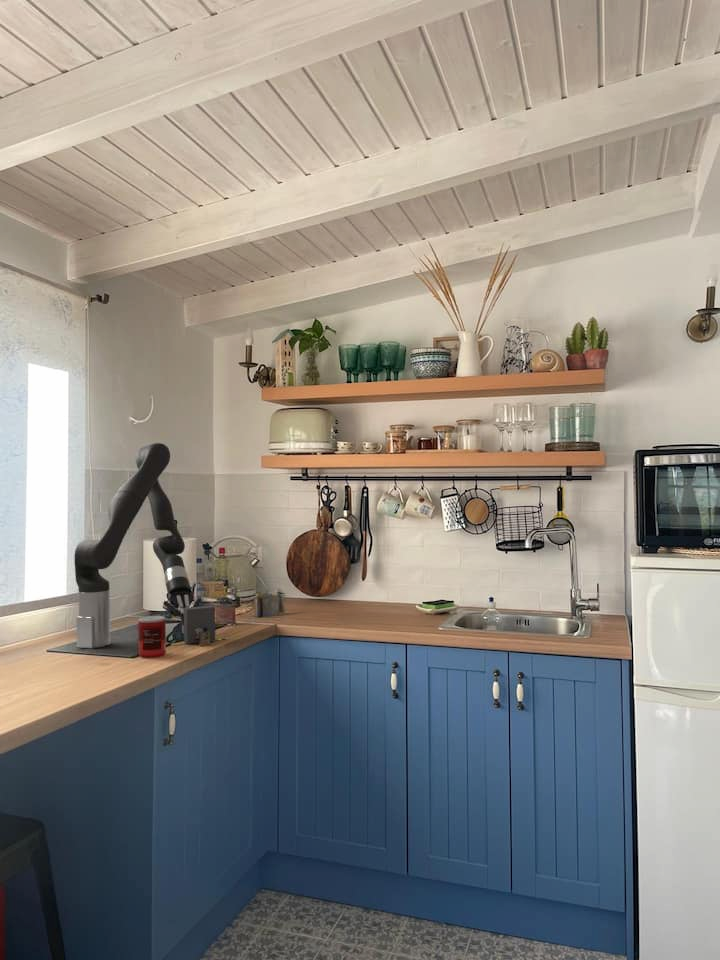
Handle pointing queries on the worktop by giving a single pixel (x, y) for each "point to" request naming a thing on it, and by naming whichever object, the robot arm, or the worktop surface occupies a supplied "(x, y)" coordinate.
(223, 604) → the lighter
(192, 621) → the block
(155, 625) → the canned food
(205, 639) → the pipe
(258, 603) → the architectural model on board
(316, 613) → the worktop surface
